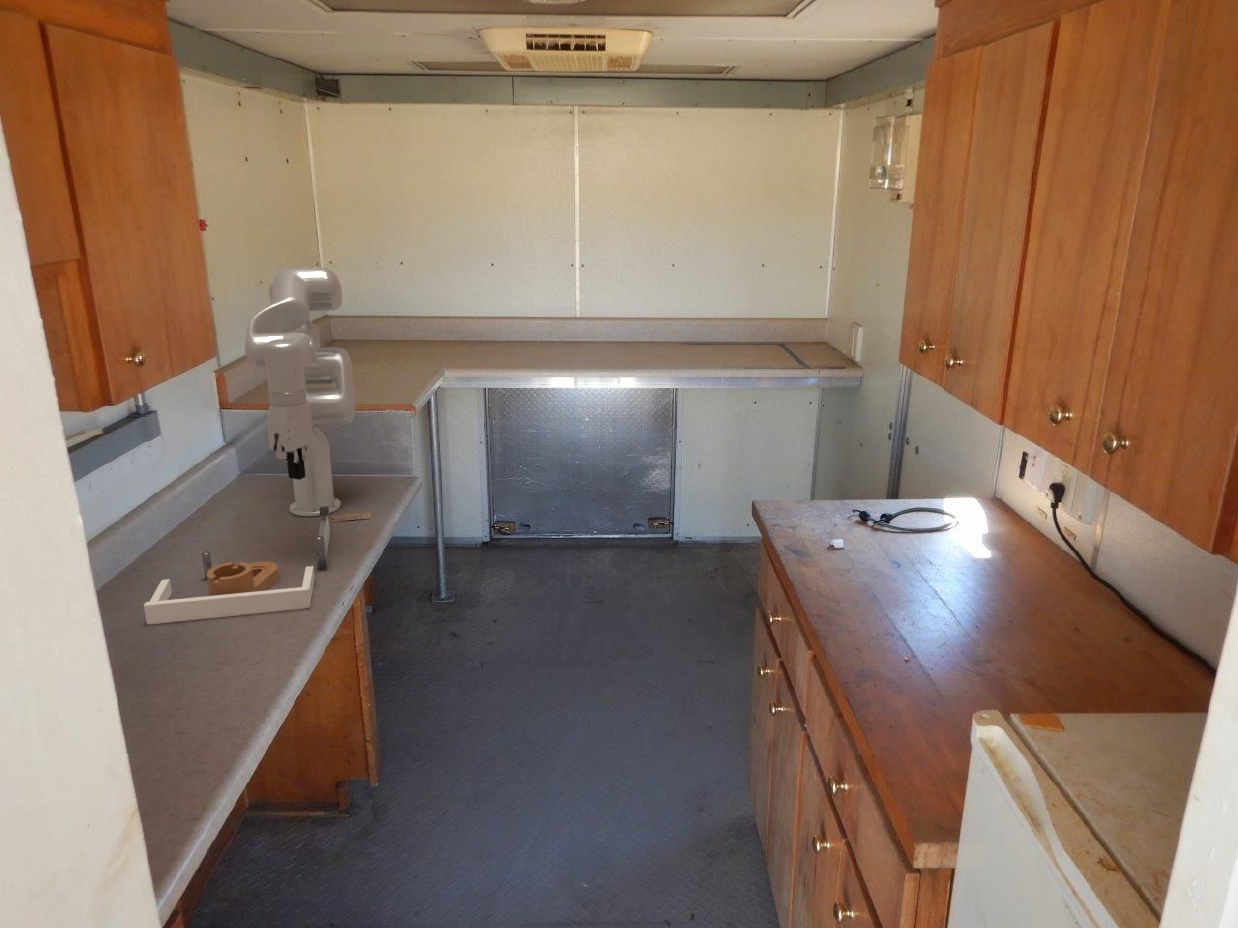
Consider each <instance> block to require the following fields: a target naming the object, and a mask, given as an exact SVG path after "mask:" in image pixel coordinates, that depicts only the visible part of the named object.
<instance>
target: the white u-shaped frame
mask: <svg viewBox="0 0 1238 928" xmlns="http://www.w3.org/2000/svg"><path fill="white" fill-rule="evenodd" d="M315 579H316V578H315V569H314V565H311V566H305V569H304V575H303V580H302V585H301V586H300V587H289V588H288V587H287V588H280V589H268V590H266V591H257V592H246V593H236V594H226V595H215V596H210V595H207V596H206V595H205V596H198V597H197V596H196V597H185V598H177V599H176V598H175V599H169V598H170V597H171V595H172V593H173V591H172V585H171V579H170V578H167V579H162V580H160V581H159V582H160V583H159V584H158V585H157V587H156V590H155V591H154V593H153V595H152V597H151V598H150V600H149V601H146V602H145V603H144V604H143V609H144V614H145V620H146V625H157V624H158V625H159V624H167V623H177V622H188V621H197V620H205V619H207V620H208V619H216V618H224V617H235V616H245V615H246V616H247V615H253V614H262V613H274V612H284V611H295V610H301V609H302V610H303V609H310V607H311V604H312V603H311V602H312V597H313V591H314V585H315Z"/></svg>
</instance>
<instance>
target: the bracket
mask: <svg viewBox="0 0 1238 928" xmlns="http://www.w3.org/2000/svg"><path fill="white" fill-rule="evenodd" d="M279 578H280V576H279V569H278V565H277V564H276V563H274V562H272V561H256V562H250V563H246V562H243V561H241V562H239V563H238V564H237V565H235V562H232V561H231V562H225V563H222V564H219V565H214V566H212V568H211V569H210V570H208V572H207V580H206V581H207V586H208V594H209V595H208V596H215V595H226V594H236V593H246V592H257V591H267V590H270V588H271V587H272V586H274V584H276V583H277V582H278V581H279Z"/></svg>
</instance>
